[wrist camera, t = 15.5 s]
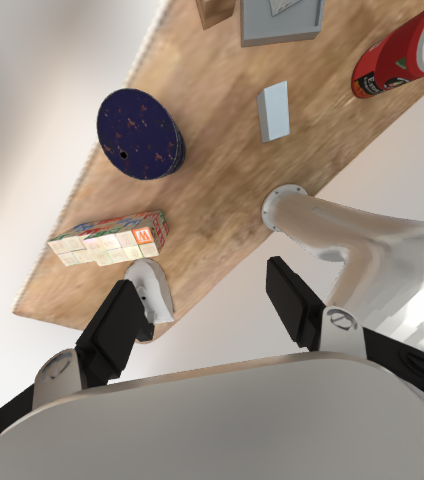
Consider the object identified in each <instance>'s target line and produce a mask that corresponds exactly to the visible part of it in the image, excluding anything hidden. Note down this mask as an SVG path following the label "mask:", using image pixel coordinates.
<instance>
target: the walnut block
mask: <svg viewBox="0 0 424 480" xmlns="http://www.w3.org/2000/svg"><path fill="white" fill-rule="evenodd" d="M235 1H236V0H196V3H197V7H198V11H199V14H200V18H201V22H202V26H203V29H204V30H206V29H208V28H210V27H212V26H213V25H215V24H217V23H219V22H221V21H223V20H225V19H227V18H229V17H231V16H232V13H233V9H234V5H235Z"/></svg>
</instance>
